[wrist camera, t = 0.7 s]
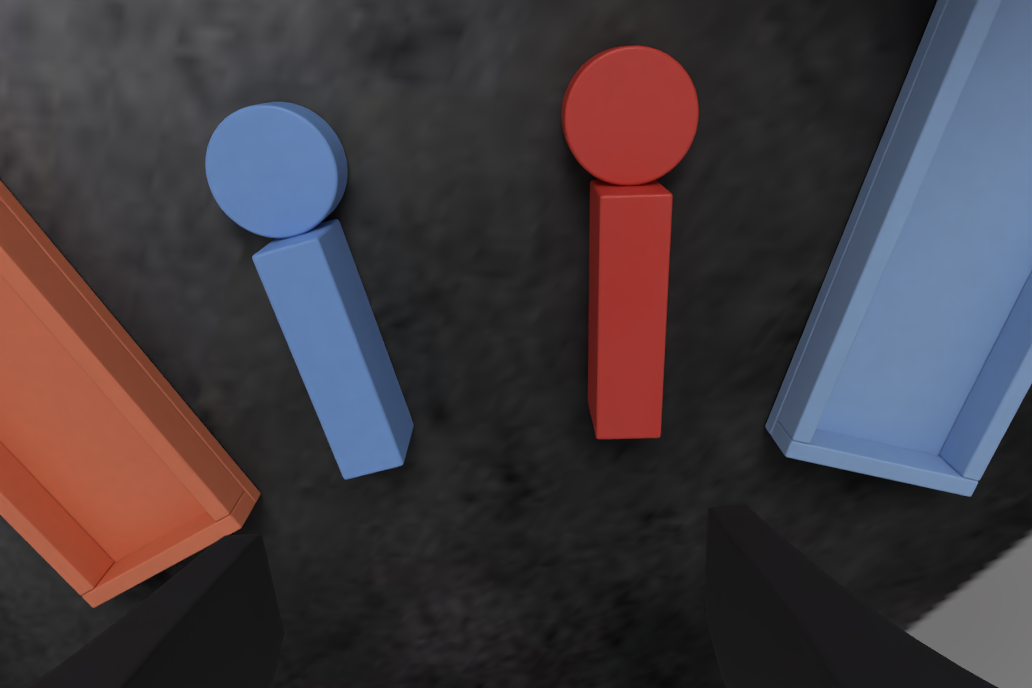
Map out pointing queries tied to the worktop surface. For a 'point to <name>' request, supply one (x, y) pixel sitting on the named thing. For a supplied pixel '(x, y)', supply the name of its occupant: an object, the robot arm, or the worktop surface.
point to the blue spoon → (312, 275)
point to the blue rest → (929, 271)
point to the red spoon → (628, 223)
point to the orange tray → (97, 432)
